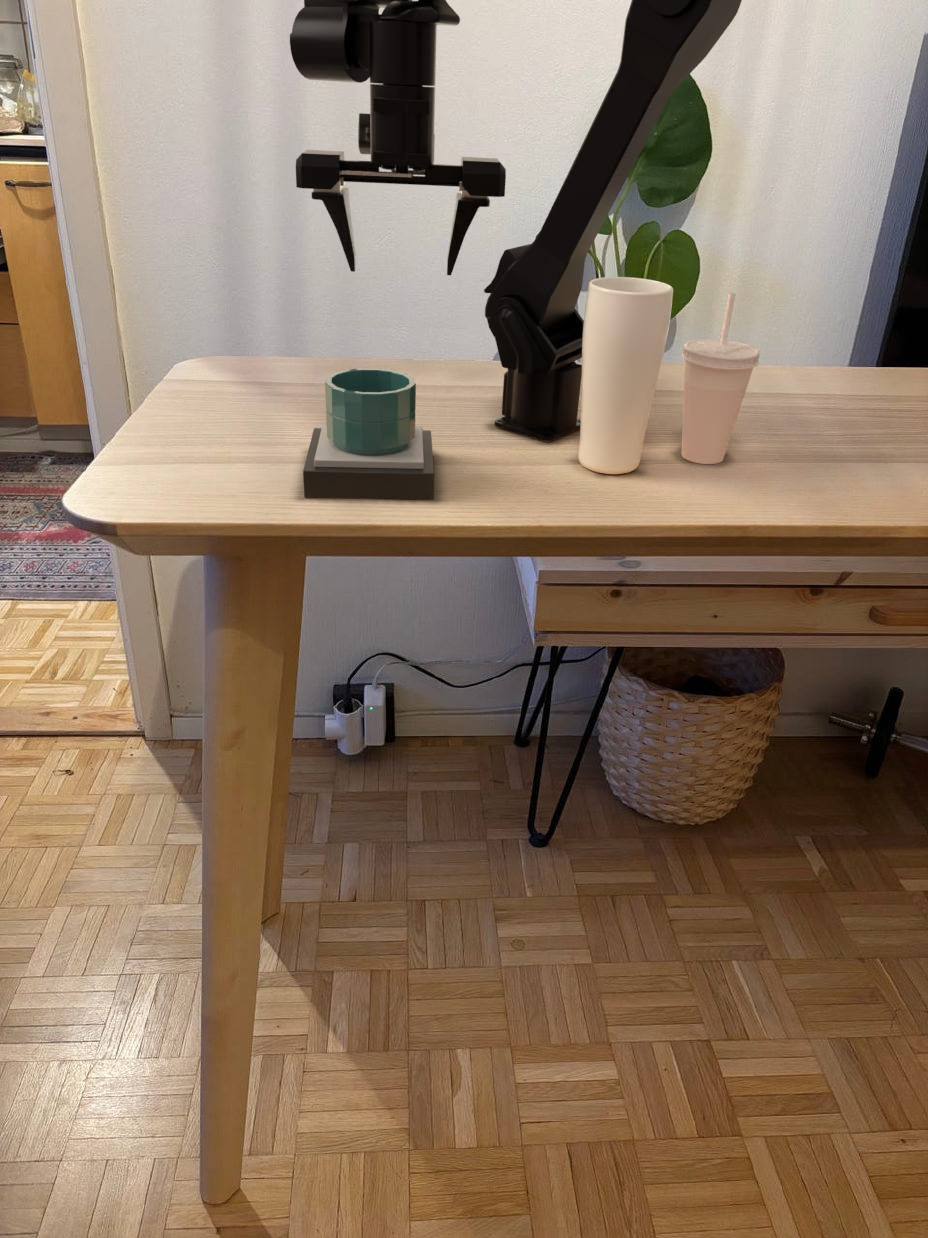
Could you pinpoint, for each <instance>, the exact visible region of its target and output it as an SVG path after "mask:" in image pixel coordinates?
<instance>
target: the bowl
mask: <svg viewBox="0 0 928 1238" xmlns="http://www.w3.org/2000/svg"><path fill="white" fill-rule="evenodd" d="M324 388H325V389H324V390H325V392H324V393H325V421H326V424H327V438H328V439H330V440H331V441H332V442H333V443H334V445H335V446H336V447H337V448H339V449H341V450H343V451H346V452H349V453H354V454H360V455H384V454H390V453H395V452H398V451H401V450H403V449H404V448H406V447H407V446H408V444H409V443H410V442H411V441H412V440H413V439H414V438H415V426H416V410H417V409H416V402H417V399H416V398H417V383H416V379H415V378H414V377H412V376H411V375H409V374H407V373H405V372H401V371H397V370H392V369H385V368H367V367H365V368H363V367H362V368H361V367H359V368H351V369H343V370H340V371H336V372H332V373H331V374H329V375H328V376H326V377H325V379H324Z"/></svg>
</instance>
